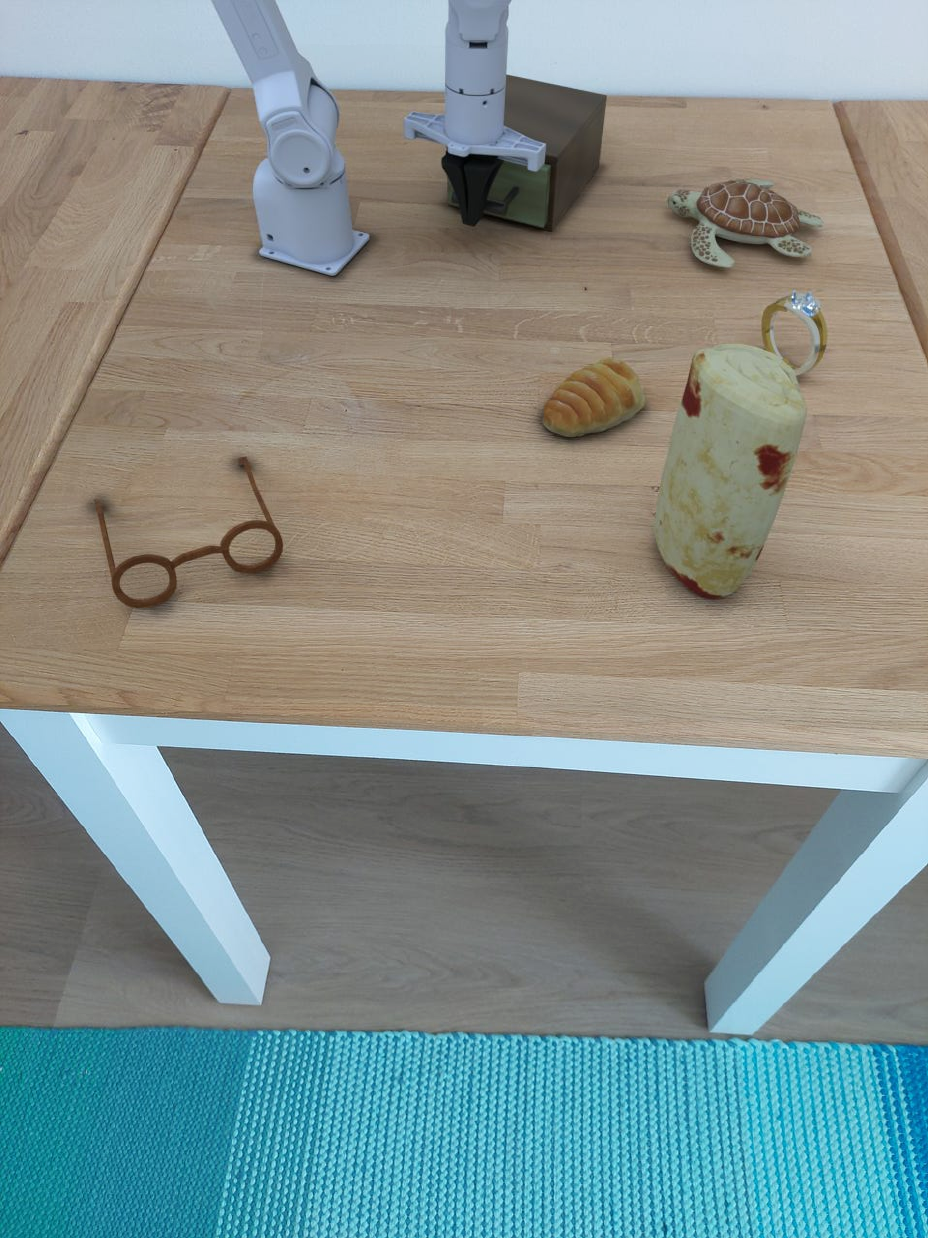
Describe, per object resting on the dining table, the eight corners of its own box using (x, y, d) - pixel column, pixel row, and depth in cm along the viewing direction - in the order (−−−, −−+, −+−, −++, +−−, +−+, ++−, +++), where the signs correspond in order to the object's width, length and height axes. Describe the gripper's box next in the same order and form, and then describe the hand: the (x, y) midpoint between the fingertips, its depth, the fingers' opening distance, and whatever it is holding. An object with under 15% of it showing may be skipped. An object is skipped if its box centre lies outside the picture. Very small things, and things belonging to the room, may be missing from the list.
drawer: (526, 250, 99) (529, 192, 94) (428, 225, 102) (426, 167, 97) (587, 168, 109) (593, 111, 103) (497, 147, 112) (498, 91, 106)
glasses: (126, 618, 72) (105, 577, 68) (95, 504, 79) (74, 461, 75) (289, 565, 75) (279, 523, 71) (245, 460, 82) (233, 416, 78)
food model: (625, 548, 76) (665, 344, 59) (687, 514, 78) (743, 308, 62) (706, 630, 71) (775, 432, 55) (771, 591, 73) (855, 389, 57)
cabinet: (551, 231, 103) (557, 156, 96) (447, 205, 106) (445, 131, 99) (599, 167, 110) (607, 94, 104) (500, 145, 114) (502, 72, 107)
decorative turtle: (688, 175, 109) (697, 132, 105) (831, 207, 105) (845, 163, 101) (639, 257, 99) (646, 213, 95) (794, 296, 95) (808, 251, 91)
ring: (817, 386, 87) (845, 313, 81) (789, 396, 86) (815, 323, 80) (772, 344, 91) (795, 270, 84) (745, 353, 90) (766, 280, 84)
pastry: (573, 456, 82) (577, 423, 79) (523, 416, 85) (525, 383, 82) (649, 411, 85) (655, 377, 82) (598, 374, 88) (602, 340, 85)
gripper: (386, 82, 87) (392, 220, 97) (529, 116, 83) (519, 256, 94) (421, 54, 91) (423, 190, 101) (559, 86, 87) (546, 223, 98)
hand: (471, 220), depth 98 cm, fingers closed, pressing on drawer
